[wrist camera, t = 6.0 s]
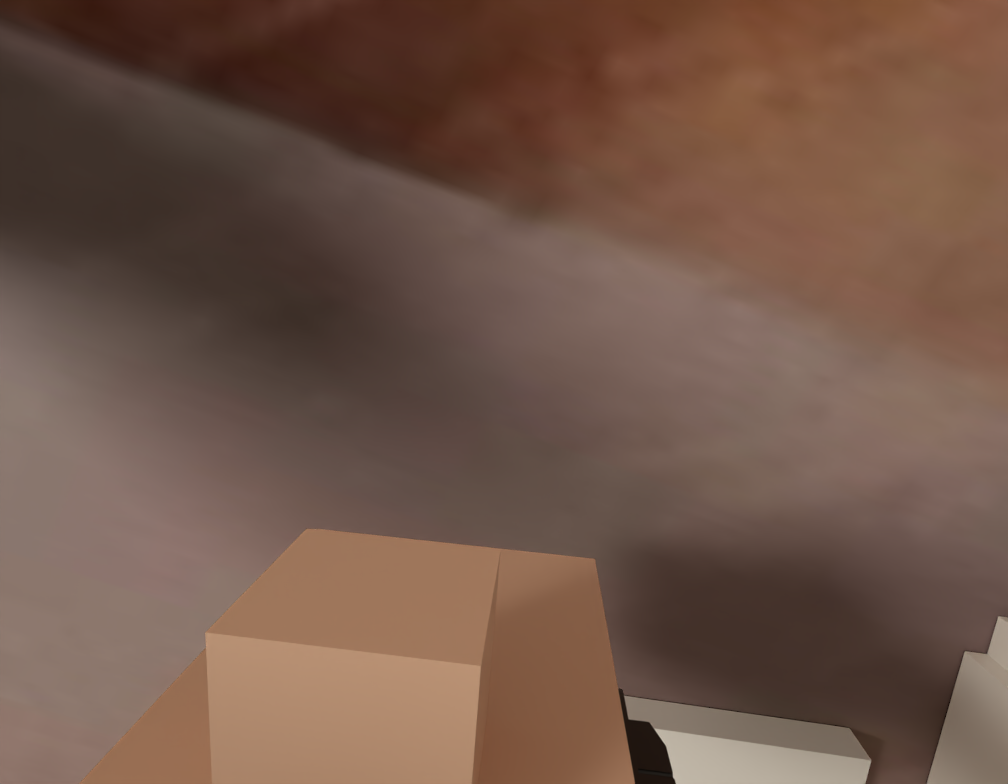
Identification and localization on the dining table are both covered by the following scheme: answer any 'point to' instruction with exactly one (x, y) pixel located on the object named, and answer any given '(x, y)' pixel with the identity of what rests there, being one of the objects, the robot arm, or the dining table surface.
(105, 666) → the dining table surface
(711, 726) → the base
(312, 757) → the collar
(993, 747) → the vegetable dish rim
